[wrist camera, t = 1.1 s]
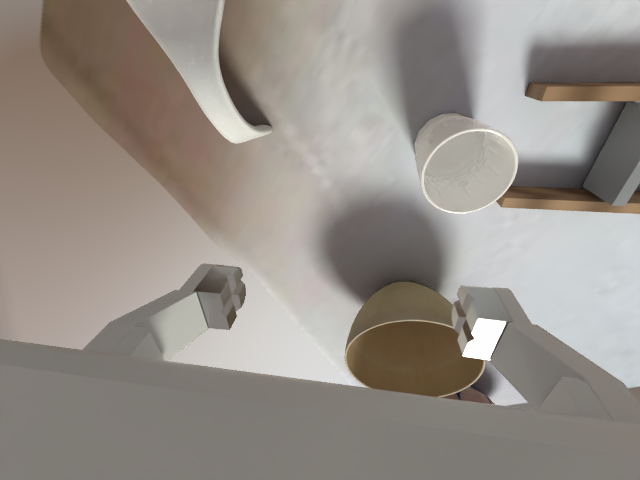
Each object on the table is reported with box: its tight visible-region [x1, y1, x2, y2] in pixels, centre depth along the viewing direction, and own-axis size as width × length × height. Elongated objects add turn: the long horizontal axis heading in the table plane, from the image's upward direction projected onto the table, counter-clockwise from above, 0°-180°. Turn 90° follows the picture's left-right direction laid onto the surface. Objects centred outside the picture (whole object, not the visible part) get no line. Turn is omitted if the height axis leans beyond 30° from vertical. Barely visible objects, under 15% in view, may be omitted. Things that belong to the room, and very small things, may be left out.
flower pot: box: [345, 281, 486, 397], centre depth 43 cm, size 18×18×12 cm
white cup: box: [414, 113, 518, 213], centre depth 29 cm, size 8×8×10 cm
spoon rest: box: [127, 0, 273, 143], centre depth 27 cm, size 24×12×7 cm, turn 19°
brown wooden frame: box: [496, 82, 640, 214], centre depth 29 cm, size 21×12×6 cm, turn 91°
